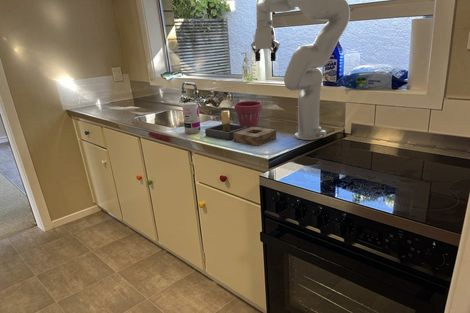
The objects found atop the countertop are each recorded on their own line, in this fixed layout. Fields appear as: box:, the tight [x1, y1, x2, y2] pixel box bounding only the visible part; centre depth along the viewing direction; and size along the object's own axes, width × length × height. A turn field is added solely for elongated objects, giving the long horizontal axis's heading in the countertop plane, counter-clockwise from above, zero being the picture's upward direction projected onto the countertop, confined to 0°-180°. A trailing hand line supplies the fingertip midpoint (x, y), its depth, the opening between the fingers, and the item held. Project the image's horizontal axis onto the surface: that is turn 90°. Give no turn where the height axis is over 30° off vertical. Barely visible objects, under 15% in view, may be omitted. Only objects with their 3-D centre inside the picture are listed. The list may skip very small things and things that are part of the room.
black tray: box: [204, 123, 248, 141], centre depth 172 cm, size 16×14×4 cm
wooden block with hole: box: [232, 126, 277, 147], centre depth 160 cm, size 14×14×4 cm
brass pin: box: [220, 109, 231, 132], centre depth 170 cm, size 4×4×11 cm
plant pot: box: [234, 100, 263, 128], centre depth 182 cm, size 14×14×13 cm
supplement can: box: [181, 101, 201, 134], centre depth 180 cm, size 8×8×15 cm
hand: (265, 61), depth 175 cm, fingers open, 9 cm apart
